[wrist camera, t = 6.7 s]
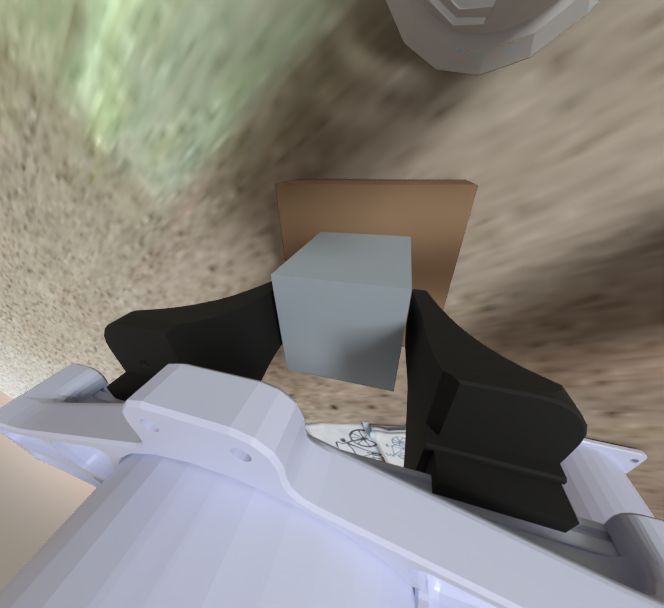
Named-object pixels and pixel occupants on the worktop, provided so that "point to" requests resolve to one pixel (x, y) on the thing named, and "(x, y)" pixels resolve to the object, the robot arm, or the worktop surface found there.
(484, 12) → the french press
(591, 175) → the worktop surface
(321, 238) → the slate cube
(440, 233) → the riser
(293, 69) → the worktop surface
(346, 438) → the white bicycle print cloth
